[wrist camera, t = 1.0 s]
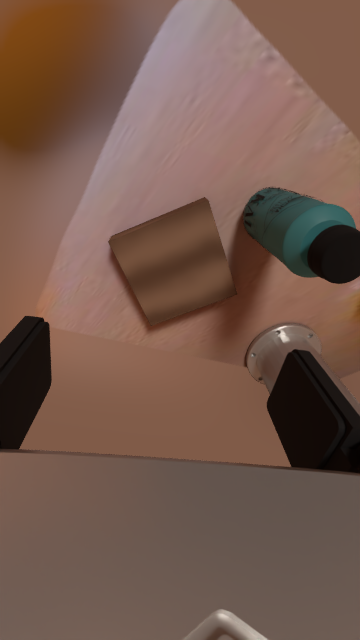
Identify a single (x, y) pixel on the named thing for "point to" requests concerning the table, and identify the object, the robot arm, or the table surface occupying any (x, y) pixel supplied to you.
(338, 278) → the beverage bottle
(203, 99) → the table surface
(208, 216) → the walnut plinth
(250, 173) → the table surface
